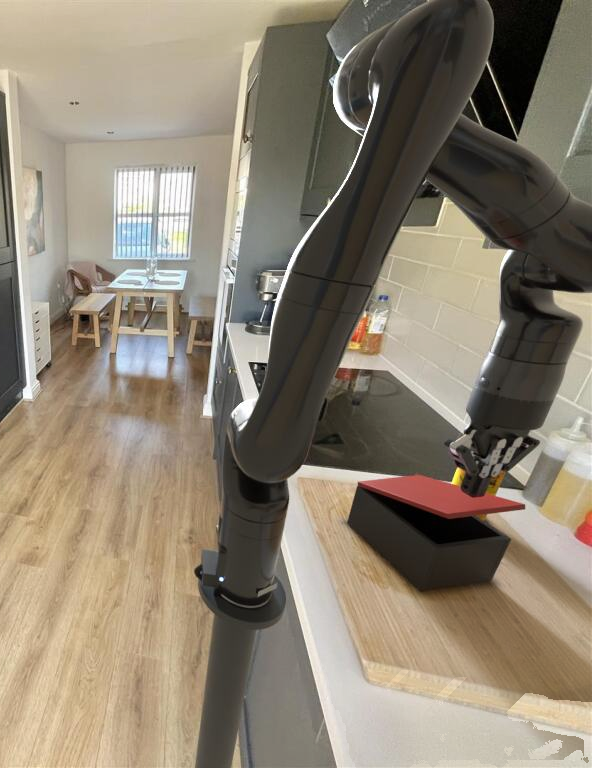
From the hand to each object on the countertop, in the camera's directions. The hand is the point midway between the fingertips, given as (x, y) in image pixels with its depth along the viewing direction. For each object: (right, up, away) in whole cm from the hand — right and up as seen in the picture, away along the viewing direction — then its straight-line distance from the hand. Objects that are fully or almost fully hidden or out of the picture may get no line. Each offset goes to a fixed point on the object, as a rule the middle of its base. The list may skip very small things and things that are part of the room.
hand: (471, 493), depth 59 cm
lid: (0, -2, +6) cm, 7 cm away
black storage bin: (0, -13, +11) cm, 17 cm away
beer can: (+16, -9, +18) cm, 26 cm away
